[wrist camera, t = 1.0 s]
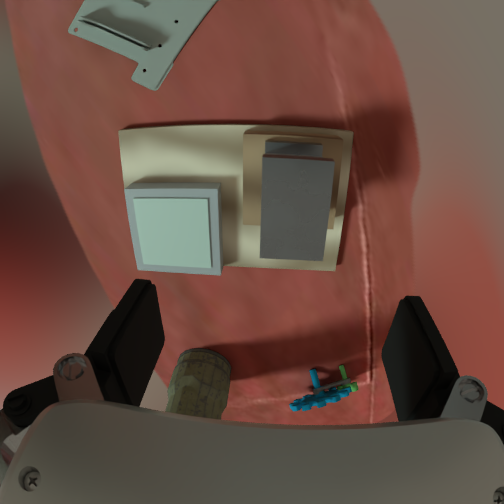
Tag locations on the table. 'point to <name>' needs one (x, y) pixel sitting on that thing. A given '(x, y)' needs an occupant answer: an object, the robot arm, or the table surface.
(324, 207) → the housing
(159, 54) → the metal bracket
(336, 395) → the gear
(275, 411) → the table surface
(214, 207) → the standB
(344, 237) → the table surface
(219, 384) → the thermos
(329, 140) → the stand
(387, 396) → the table surface
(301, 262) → the board
